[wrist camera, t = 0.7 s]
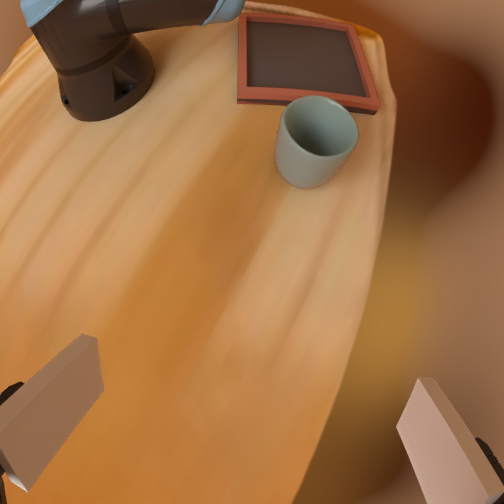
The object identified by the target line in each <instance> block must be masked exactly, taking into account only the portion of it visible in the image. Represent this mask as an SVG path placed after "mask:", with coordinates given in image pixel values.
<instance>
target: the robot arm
mask: <svg viewBox="0 0 504 504" xmlns="http://www.w3.org/2000/svg"><path fill="white" fill-rule="evenodd" d="M245 1H246V0H21V9H22V12H23V14H24V17H25V19H26V21H27V26H28V27H30V28H31V30H32V32H33V34H34V35H35V37H36V39H37V40H38V42H39V44H40V45H41V47H42V49H43V50H44V52H45V54H46V55H47V57H48V59H49V60H50V62H51V64H52V65H53V67H54V68H55V70H56V72H57V76H58V83H59V89H60V96H61V100H62V103H63V105H64V106H65V108H66V109H67V111H68V112H69V114H70V115H71V116H73V117H74V118H76V119H78V120H81V121H89V122H91V121H100V120H104V119H108V118H110V117H113V116H115V115H118V114H120V113H122V112H123V111H125V110H127V109H128V108H130V107H131V106H133V105H134V104H135V103H136V102H137V101H139V100H140V99H141V98H142V97H143V96H144V94H145V93H146V92H147V91H148V89H149V88H150V86H151V84H152V82H153V79H154V74H155V69H154V64H153V61H152V57H151V55H150V53H149V52H148V50H147V49H146V48H145V47H144V46H143V45H142V44H141V42H140V41H139V40H138V39H137V38H136V37H135V36H134V35H133V34H134V33H139V32H145V31H151V30H158V29H165V28H173V27H182V26H192V25H198V26H203V25H207V24H211V23H222V22H229V21H232V20H233V19H235V18H236V17H238V15H239V14H240V13H241V11H242V9H243V7H244V4H245ZM103 391H104V385H103V378H102V372H101V365H100V357H99V350H98V341H97V338H95V337H92V336H88V335H85V334H81V335H80V336H79V337H78V338H77V339H76V340H74V341H73V342H72V343H71V344H70V345H68V346H67V347H66V348H65V349H64V350H63V351H61V352H60V353H59V354H58V355H57V356H56V357H54V358H53V359H52V360H51V361H50V362H49V363H48V364H46V365H45V366H44V367H43V368H42V369H41V370H40V371H38V372H37V373H36V374H35V375H34V376H33V377H32V378H31V379H29V380H28V381H27V382H26V383H25V384H24V383H22V382H18V383H16V384H14V385H11V386H9V387H8V388H7V389H6V390H4V391H3V392H2V393H1V395H0V504H7V501H6V495H5V488H4V482H3V479H2V477H1V476H2V475H3V474H4V472H5V473H6V474H7V476H8V477H9V479H10V480H11V482H13V483H14V484H16V485H17V486H19V487H21V488H22V489H24V490H25V491H27V492H28V491H29V490H30V489H31V487H32V486H33V484H34V483H35V482H36V480H37V479H38V478H39V476H40V475H41V473H42V472H43V471H44V469H45V468H46V467H47V465H48V464H49V462H50V461H51V460H52V458H53V457H54V456H55V454H56V453H57V452H58V450H59V449H60V448H61V446H62V445H63V444H64V442H65V441H66V440H67V438H68V437H69V436H70V434H71V433H72V432H73V430H74V429H75V428H76V426H77V425H78V424H79V422H80V421H81V420H82V419H83V417H84V416H85V415H86V413H87V412H88V411H89V409H90V408H91V407H92V406H93V404H94V403H95V402H96V400H97V399H98V398H99V397H100V395H101V394H102V393H103ZM396 427H397V429H398V432H399V434H400V437H401V439H402V441H403V444H404V446H405V448H406V451H407V453H408V456H409V458H410V461H411V463H412V465H413V468H414V470H415V473H416V476H417V478H418V481H419V483H420V486H421V488H422V491H423V494H424V496H425V499H426V502H427V504H504V469H503V468H502V466H501V465H500V463H498V460H497V458H496V457H495V456H493V452H492V451H491V449H490V448H489V446H488V445H487V444H486V443H485V442H484V441H482V440H481V439H480V438H474V437H473V436H472V434H471V432H470V431H469V429H468V428H467V426H466V425H465V423H464V422H463V420H462V419H461V417H460V416H459V414H458V413H457V412H456V410H455V409H454V407H453V406H452V404H451V403H450V401H449V400H448V398H447V397H446V396H445V394H444V393H443V391H442V390H441V388H440V387H439V386H438V384H437V383H436V381H435V380H434V379H433V378H418V379H417V382H416V384H415V387H414V389H413V391H412V394H411V396H410V398H409V400H408V403H407V405H406V407H405V409H404V411H403V413H402V416H401V418H400V420H399V422H398V424H397V426H396Z"/></svg>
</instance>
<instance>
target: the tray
mask: <svg viewBox="0 0 504 504" xmlns="http://www.w3.org/2000/svg"><path fill="white" fill-rule="evenodd" d="M312 95H317V96H324V97H328V98H330V99H333V100H335V101H336V102H338V103H339V104H341V105H342V106H343V107H344V108H345V109H346V110H347V111H349V112H356V113H363V114H370V115H375V113H376V112H377V110H378V109H379V107H380V103H379V100H378V96H377V93H376V89H375V86H374V83H373V80H372V77H371V73H370V70H369V67H368V64H367V61H366V59H365V56H364V53H363V50H362V47H361V45H360V42H359V39H358V37H357V34H356V32H355V29H354V26H353V25H352V24H347V23H341V22H336V21H330V20H323V19H316V18H309V17H300V16H291V15H279V14H264V13H240V14H239V33H238V84H237V104H262V105H284V106H288V105H289V104H290V103H291V102H293V101H294V100H296V99H298V98H301V97H305V96H312Z"/></svg>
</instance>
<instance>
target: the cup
mask: <svg viewBox="0 0 504 504" xmlns="http://www.w3.org/2000/svg"><path fill="white" fill-rule="evenodd" d="M358 139H359V132H358V128H357V125H356V123H355V120H354V119H353V117H352V116H351V114H350V113H349V112H348V111H347V110H346V109H345V108H344V107H343V106H342V105H341V104H339V103H338V102H336V101H335V100H333V99H330V98H328V97H324V96H317V95H312V96H305V97H301V98H298V99H296V100H294V101H293V102H291V103H290V104H289V105H288V106H287V107H286V108H285V109H284V111H283V113H282V115H281V118H280V122H279V126H278V131H277V135H276V141H275V148H274V156H275V163H276V166H277V169H278V171H279V173H280V175H281V176H282V177H283V179H284V180H285V181H286V182H287V183H289V184H290V185H292V186H293V187H296V188H299V189H313V188H316V187H319V186H321V185H323V184H325V183H326V182H328V181H329V180H330V179H331V178H332V177H334V176H335V175H336V174H337V172H338V171H339V170H340V169H341V167H342V166H343V165H344V163H345V162H346V161H347V159H348V158H349V156H350V155H351V153H352V152H353V150H354V149H355V147H356V145H357V142H358Z"/></svg>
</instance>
